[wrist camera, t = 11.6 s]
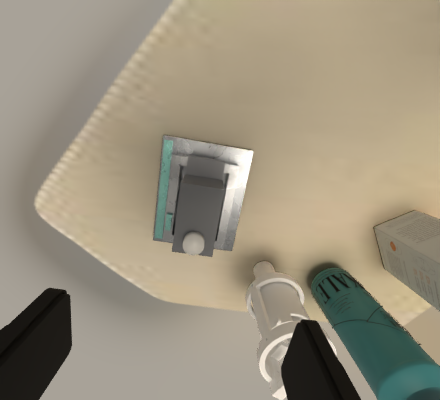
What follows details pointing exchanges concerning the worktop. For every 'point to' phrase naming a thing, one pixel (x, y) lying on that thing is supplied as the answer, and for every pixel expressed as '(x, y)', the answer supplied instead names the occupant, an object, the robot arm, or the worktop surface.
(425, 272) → the small box
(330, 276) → the beverage bottle
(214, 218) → the lever
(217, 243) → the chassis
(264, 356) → the clear white hollow cylinder
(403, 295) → the worktop surface
